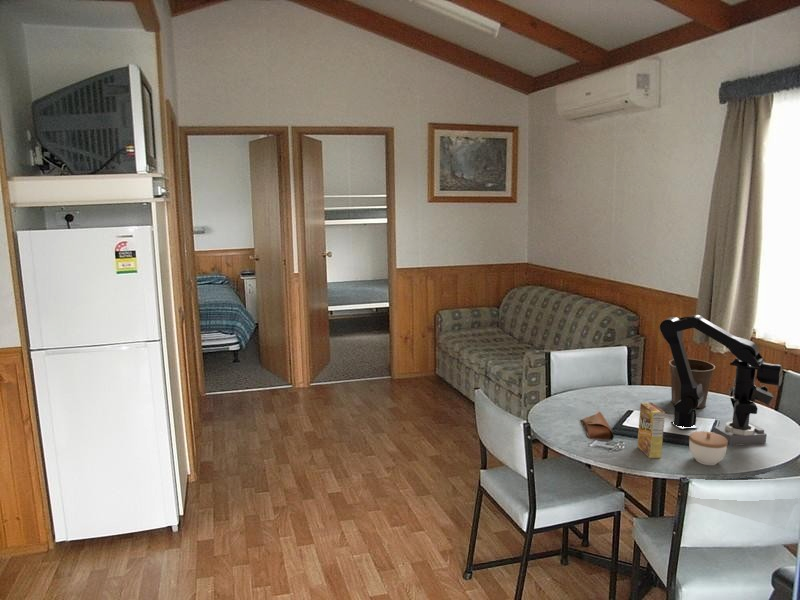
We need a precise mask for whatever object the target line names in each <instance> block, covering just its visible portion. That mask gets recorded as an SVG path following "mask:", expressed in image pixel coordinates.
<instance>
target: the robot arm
mask: <svg viewBox="0 0 800 600" xmlns="http://www.w3.org/2000/svg"><path fill="white" fill-rule="evenodd" d="M689 329H696V330H697V331H699V332H700V333H702V334H704V335H706V336H707V337H709V338H711V339H712V340H714V341H716V342H718V343H719V344H720V345H723V346H724V347H726V348H727V349H728V350H729V352H730V353H731V354H732V355H733V356H734V357H736V358H735V359H734V360H732V361H731V362H729V365H730V366H735V367H736V368H735V377H734V379H733V383H734V385H733V386H732V387H730V388H729V391H728V395H729V397H730V402H731V405H732V408H734V410H733V412H734V411H735V414H736V417H737V420H738V423H739V427H744V424H745V422H746V419H747V417H748V415H749V414H752V415H756V414H758V409H759V408H758V406H757V405H756V403H755V401H758V402H760V403H763V404H765V405H766V406H769V405H770V404H771V402H772V400H773V399H774V395H773V393H771V392H770V391H769V390H768V387H767V386H765V385H770V386H777V387H781V384H782V381H783V376H784V375H783V368H782V367H783V365H782V364H776V363H775V364H773V363H769V362H766V360H765V359H764V357H763V356H762V354H761V353H760V348H759V345H758V344H757V343H756V342H754V341H751V340H749V339H746V338H744V337H739V336H737V335H733V334H732V333H730V332H728V331H727V330H725V329H723V328H721V327H720V326H718V325H716V324H714V323H713V322H711V321H709V320H707V319H706V318H705V317H703V316H702V315H699V314H694V315H689V316H683V317H676V316H670V317H668V318H666V319H664V320H662V321H661V323H660V324H659V330H660V333H661V335H662V336H663V339H664V340H665V341H666V343H668V345H669V349H670V351H671V356H672V358H673V359H674V362H675V366H676V369H677V373H678V376H679V380H680V383H681V387H680V397H681V400H679V401H678V402H677V403H676V404H673V410H674V414H673V421H670V424H671V423H673V422H674V424H675V425H677V426H682V427H683V426H684V427H691V426H693V425H695V426H696V424H697V415H698V414H697V408H696V407H697V406H698V405H699V404H700V403H702V401H703V399H704V395H705V393H704V392H703V389H702V384H698V385H697V383H696V382H695V381H694V379H693V375H692V372H691V368H690V365H689V362H688V359H689V358H688V355H687V352H686V348H685V346H684V341H683V338H684V331H686V330H689ZM673 359H672V360H673ZM755 380H757V382H758V381H759V383H760V384H762V385H761V386H757V385H755V382H756V381H755ZM763 384H765V385H763ZM695 408H696V409H695ZM675 425H674V426H675Z"/></svg>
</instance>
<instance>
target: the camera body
mask: <svg viewBox="0 0 800 600" xmlns="http://www.w3.org/2000/svg"><path fill="white" fill-rule="evenodd" d="M732 422H733V421H727V422H726V423H725V425H718V426H713V431H712V433H713V432H714V433H716V434H719V435H722V436H724V437H725V438H726V439H727V440H728V444H727V445H729V446H730V447H733V446H742V445H753V444H755V445H756V444H757V445H758V444H766V443H767V433H765V429H763V428H761V427H760V426H758V425H756V424H754V423H752V422H749V425H748V430H740V429H735V428H733V427H732Z"/></svg>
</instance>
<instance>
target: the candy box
mask: <svg viewBox="0 0 800 600" xmlns="http://www.w3.org/2000/svg"><path fill="white" fill-rule="evenodd" d="M665 415H666V412H665V411H664V410H662V409H661V408H659V407H658V406H657V405H655V404H654V403H653V402H640V407H639V420H638V433H637V442H636V443H637V444H636V447H637V448H638V449H639V450H640V451H641V452H642V453H643V454H644V455H646V456H647V457H648V458H649V459H656V458H657V459H660V458H661V457H662V449H663V439H664V430H665V429H664V428H665V417H666V416H665Z"/></svg>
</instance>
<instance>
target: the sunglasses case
mask: <svg viewBox="0 0 800 600" xmlns="http://www.w3.org/2000/svg"><path fill="white" fill-rule="evenodd" d="M579 420H580V422H581V423H582V425H583V427H584V429H585V431H586V433H587V437H588V439H590V440H613V439H614V437H615V436H614V432H613V431H612V429H611V427H610V425H609V423H608V422H607V420H606V418H605V417H604V415H603V414H602V412H601V411H598V412H597V413H596V414H595V413H594V414H593V415H590V416H587V417H585V418H582V419H579Z"/></svg>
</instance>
